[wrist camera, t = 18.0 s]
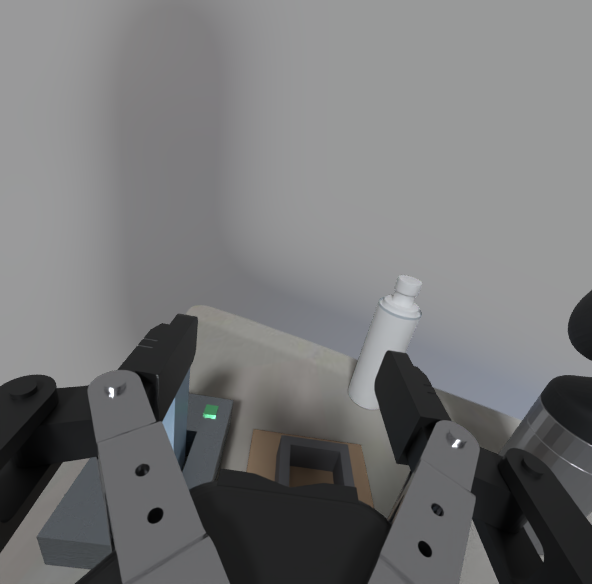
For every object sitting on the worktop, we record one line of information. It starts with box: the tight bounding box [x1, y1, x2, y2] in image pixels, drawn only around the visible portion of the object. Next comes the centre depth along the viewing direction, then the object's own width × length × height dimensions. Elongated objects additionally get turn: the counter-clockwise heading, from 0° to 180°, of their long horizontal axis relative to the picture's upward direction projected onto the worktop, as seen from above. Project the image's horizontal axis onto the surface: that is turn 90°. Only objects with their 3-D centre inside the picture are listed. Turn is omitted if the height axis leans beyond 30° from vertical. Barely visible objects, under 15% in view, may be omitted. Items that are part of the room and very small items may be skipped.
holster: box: [246, 429, 374, 508], centre depth 36 cm, size 16×16×5 cm
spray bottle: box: [348, 275, 422, 410], centre depth 50 cm, size 7×7×25 cm
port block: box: [37, 394, 233, 569], centre depth 35 cm, size 18×13×5 cm
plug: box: [162, 368, 190, 471], centre depth 32 cm, size 4×4×19 cm
